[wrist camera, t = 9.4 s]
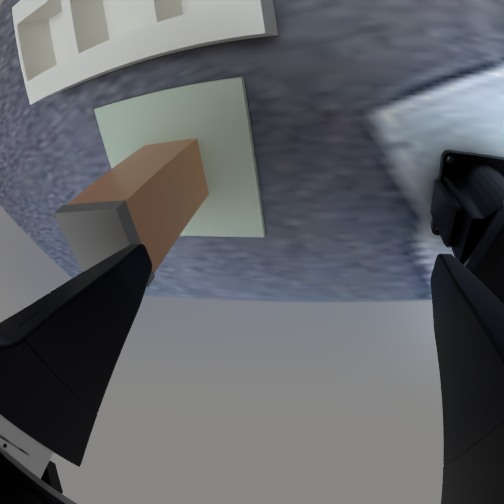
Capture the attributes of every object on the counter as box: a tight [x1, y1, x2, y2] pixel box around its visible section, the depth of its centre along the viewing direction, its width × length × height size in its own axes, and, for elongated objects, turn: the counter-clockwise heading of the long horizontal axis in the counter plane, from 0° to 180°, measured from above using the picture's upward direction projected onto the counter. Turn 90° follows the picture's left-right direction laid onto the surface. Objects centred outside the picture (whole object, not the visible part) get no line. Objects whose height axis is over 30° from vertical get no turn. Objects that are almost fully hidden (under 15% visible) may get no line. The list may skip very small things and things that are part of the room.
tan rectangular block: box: [54, 138, 209, 287], centre depth 18 cm, size 5×5×10 cm
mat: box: [94, 76, 266, 237], centre depth 22 cm, size 12×12×1 cm
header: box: [12, 0, 278, 105], centre depth 13 cm, size 18×9×4 cm, turn 97°
